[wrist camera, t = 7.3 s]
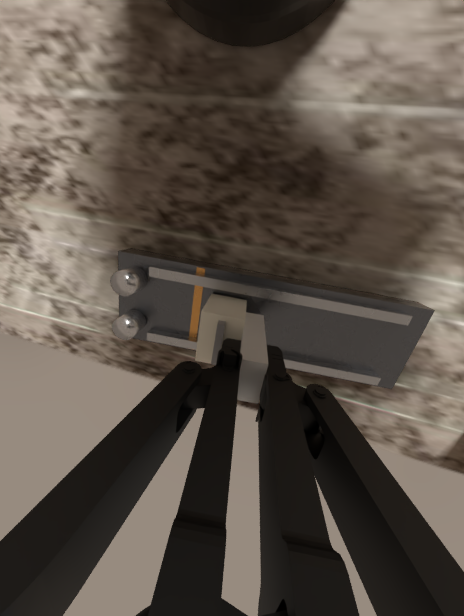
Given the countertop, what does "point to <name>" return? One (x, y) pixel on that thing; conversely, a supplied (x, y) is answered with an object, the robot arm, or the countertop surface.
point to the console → (271, 315)
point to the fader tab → (219, 325)
